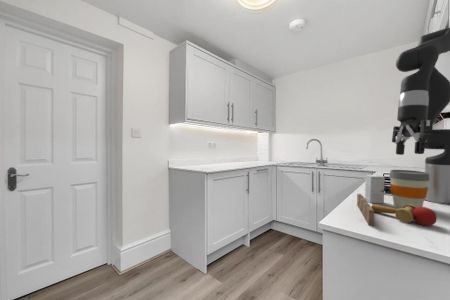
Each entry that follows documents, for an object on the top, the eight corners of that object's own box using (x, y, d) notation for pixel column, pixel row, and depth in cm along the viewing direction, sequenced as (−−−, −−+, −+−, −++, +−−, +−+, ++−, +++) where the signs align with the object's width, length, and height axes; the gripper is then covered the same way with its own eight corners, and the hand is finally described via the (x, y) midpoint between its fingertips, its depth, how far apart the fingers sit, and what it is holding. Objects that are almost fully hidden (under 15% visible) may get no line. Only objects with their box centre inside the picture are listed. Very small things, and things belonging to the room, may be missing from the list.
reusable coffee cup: (386, 206, 87) (387, 171, 86) (390, 200, 96) (391, 168, 95) (427, 214, 78) (429, 175, 77) (428, 207, 87) (429, 171, 86)
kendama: (368, 217, 79) (432, 227, 63) (367, 200, 80) (430, 206, 64) (377, 217, 83) (441, 227, 67) (377, 201, 84) (439, 207, 68)
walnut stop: (357, 205, 89) (357, 193, 89) (360, 205, 89) (361, 194, 89) (368, 225, 68) (369, 210, 68) (373, 226, 67) (374, 210, 67)
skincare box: (370, 203, 92) (371, 176, 92) (364, 200, 97) (364, 174, 96) (384, 203, 92) (385, 176, 91) (377, 200, 96) (378, 174, 96)
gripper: (444, 101, 62) (440, 155, 61) (409, 112, 76) (405, 155, 75) (416, 99, 63) (412, 152, 62) (386, 110, 77) (383, 153, 76)
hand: (408, 154), depth 69 cm, fingers open, 8 cm apart
